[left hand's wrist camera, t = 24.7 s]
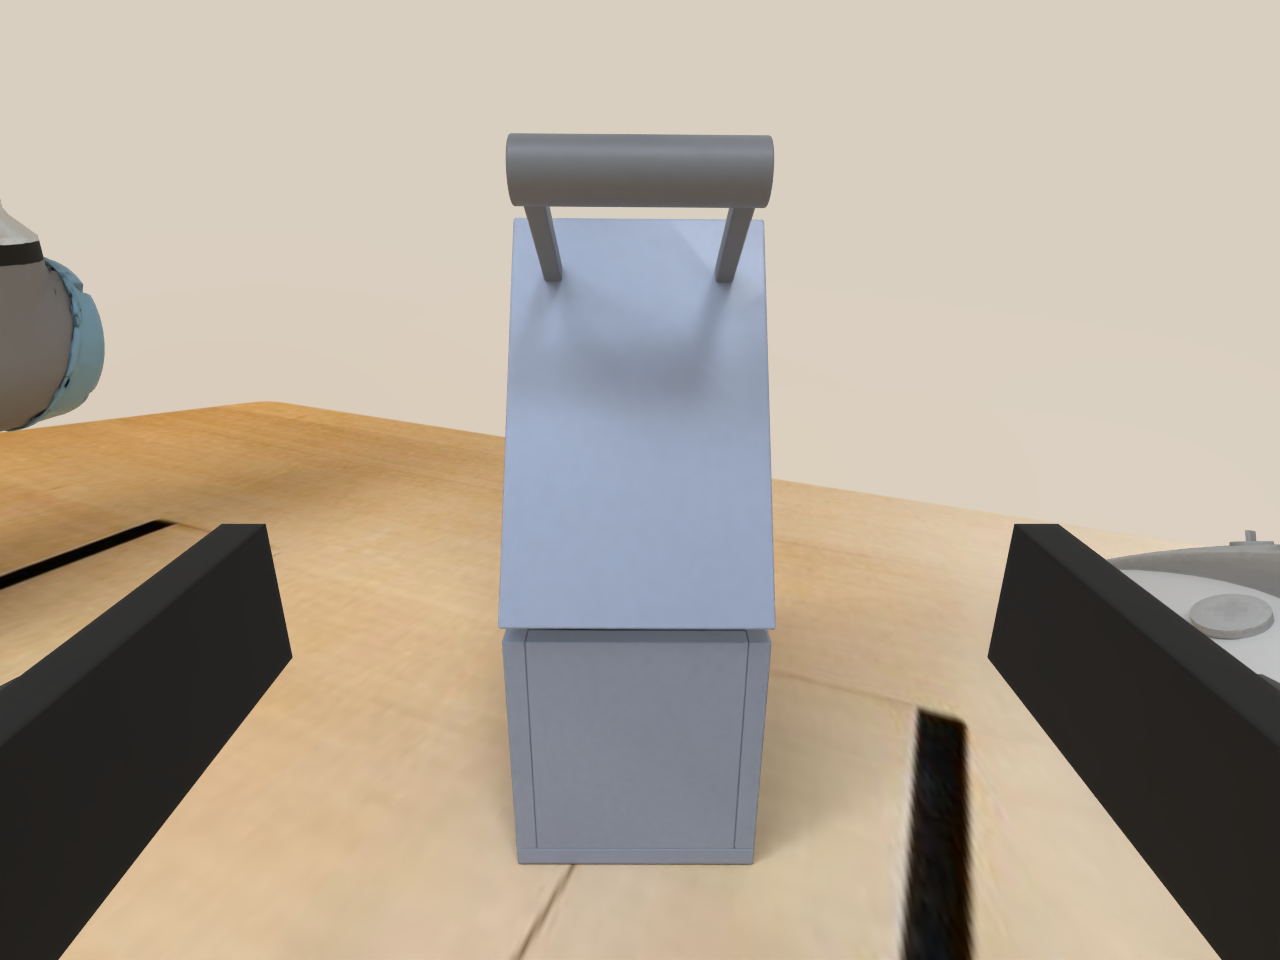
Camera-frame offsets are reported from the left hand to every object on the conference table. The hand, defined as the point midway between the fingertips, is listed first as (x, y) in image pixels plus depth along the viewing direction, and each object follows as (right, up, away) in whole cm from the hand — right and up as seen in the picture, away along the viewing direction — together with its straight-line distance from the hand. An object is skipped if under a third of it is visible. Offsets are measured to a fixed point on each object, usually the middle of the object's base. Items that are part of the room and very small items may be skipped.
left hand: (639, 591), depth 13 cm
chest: (0, -12, +25) cm, 27 cm away
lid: (0, +4, +15) cm, 16 cm away
